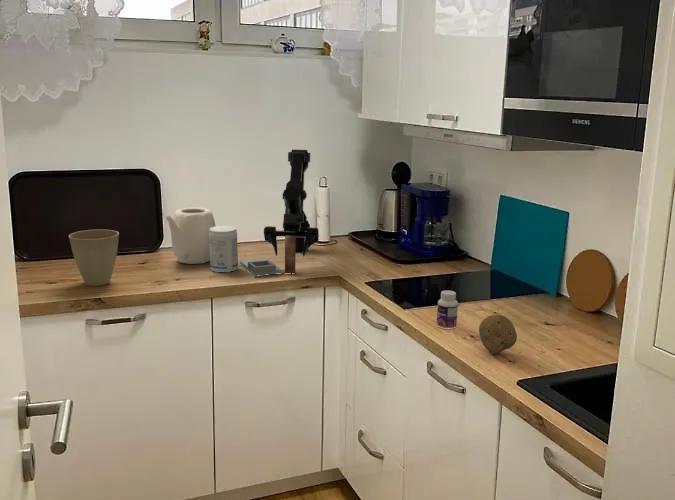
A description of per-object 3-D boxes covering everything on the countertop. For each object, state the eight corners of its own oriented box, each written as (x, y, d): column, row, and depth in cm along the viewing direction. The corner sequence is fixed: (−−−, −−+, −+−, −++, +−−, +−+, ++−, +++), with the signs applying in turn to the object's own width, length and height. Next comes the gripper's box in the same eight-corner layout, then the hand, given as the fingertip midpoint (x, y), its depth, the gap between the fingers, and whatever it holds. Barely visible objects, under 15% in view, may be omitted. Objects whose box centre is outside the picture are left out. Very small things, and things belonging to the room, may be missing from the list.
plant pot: (121, 275, 228) (118, 228, 224) (121, 287, 214) (119, 238, 210) (73, 277, 223) (69, 230, 219) (70, 291, 209) (67, 240, 205)
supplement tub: (229, 264, 243) (228, 224, 240) (243, 270, 236) (242, 229, 233) (204, 268, 237) (203, 227, 234) (218, 275, 230) (217, 232, 227)
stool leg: (283, 272, 235) (283, 235, 232) (293, 271, 237) (293, 234, 233) (286, 275, 232) (287, 237, 229) (296, 274, 233) (297, 237, 230)
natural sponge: (506, 346, 173) (510, 309, 171) (521, 360, 165) (524, 321, 162) (472, 347, 172) (475, 310, 169) (485, 361, 163) (488, 322, 161)
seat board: (240, 265, 243) (240, 255, 242) (267, 262, 247) (267, 253, 246) (254, 277, 228) (254, 267, 228) (282, 274, 232) (282, 264, 232)
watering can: (150, 267, 238) (148, 214, 233) (197, 251, 261) (196, 202, 257) (186, 273, 231) (184, 218, 227) (231, 256, 255) (230, 206, 250)
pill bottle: (432, 324, 188) (434, 290, 185) (449, 322, 190) (451, 288, 187) (443, 331, 183) (445, 296, 181) (460, 328, 185) (462, 294, 183)
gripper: (264, 203, 233) (260, 242, 225) (318, 204, 232) (316, 243, 224) (267, 221, 242) (263, 259, 234) (319, 222, 242) (317, 260, 234)
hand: (289, 255), depth 231 cm, fingers open, 9 cm apart
